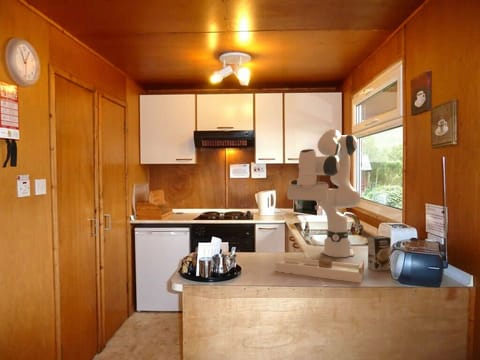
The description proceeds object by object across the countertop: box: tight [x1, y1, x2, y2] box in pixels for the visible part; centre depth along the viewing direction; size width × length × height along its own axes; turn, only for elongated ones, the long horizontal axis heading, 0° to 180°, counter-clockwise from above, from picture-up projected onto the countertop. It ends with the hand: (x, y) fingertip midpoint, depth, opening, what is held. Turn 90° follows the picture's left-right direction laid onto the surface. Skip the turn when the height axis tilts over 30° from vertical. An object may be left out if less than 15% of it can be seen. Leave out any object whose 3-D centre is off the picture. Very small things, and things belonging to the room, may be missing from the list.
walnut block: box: [319, 257, 333, 269], centre depth 163 cm, size 5×5×4 cm
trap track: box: [275, 256, 365, 283], centre depth 164 cm, size 13×40×6 cm, turn 64°
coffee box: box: [367, 235, 392, 272], centre depth 170 cm, size 9×6×16 cm
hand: (307, 209), depth 168 cm, fingers open, 8 cm apart
